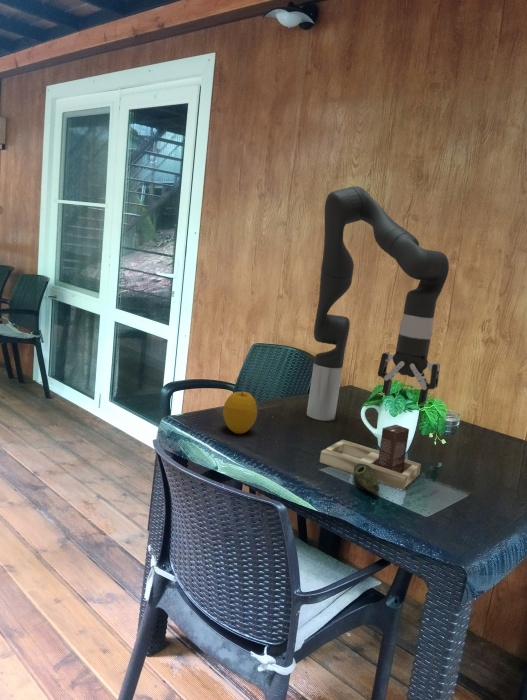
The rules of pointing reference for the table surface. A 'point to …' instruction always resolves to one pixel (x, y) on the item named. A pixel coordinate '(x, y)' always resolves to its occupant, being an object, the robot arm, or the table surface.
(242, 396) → the apple
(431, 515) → the table surface
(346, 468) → the socket board
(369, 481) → the decorative stone
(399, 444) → the box
